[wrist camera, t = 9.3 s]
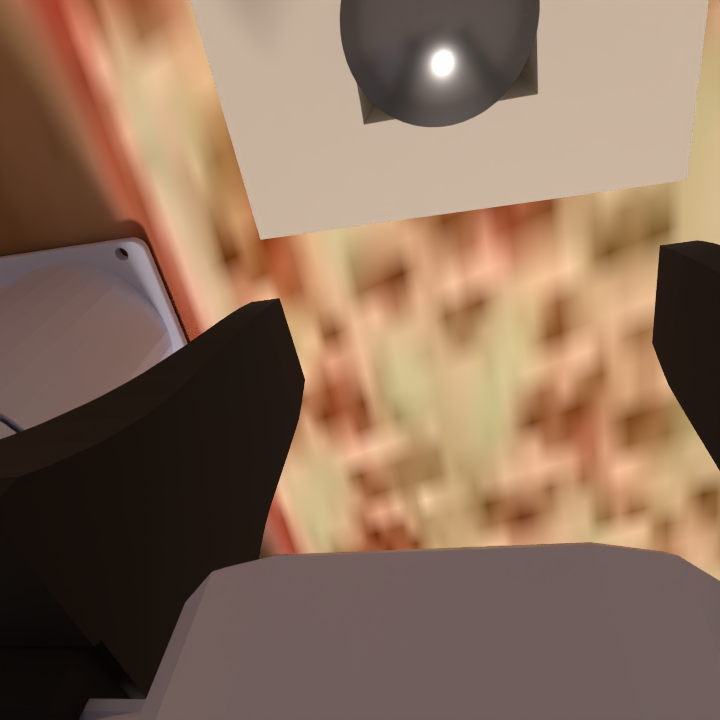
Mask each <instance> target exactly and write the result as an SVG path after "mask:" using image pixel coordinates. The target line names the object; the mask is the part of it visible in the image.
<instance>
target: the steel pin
mask: <svg viewBox="0 0 720 720" xmlns="http://www.w3.org/2000/svg"><path fill="white" fill-rule="evenodd" d="M539 13H540V0H341V4H340V35H341V41H342V47H343V51H344V55H345V58H346V62H347V64H348V66H349V69H350V71H351V74H352V75H353V77H354V79H355V81H356V83H357V84H358V86H359V87H360V89H361V90H362V91H363V93H364V94H365V95H366V96H367V97H368V98H369V100H370V101H371V102H372V103H373V104H374V105H376V106H377V107H378V108H379V109H381V110H382V111H383V112H385V113H386V114H388V115H390V116H391V117H393V118H395V119H397V120H399V121H402V122H404V123H407V124H411V125H415V126H421V127H444V126H451V125H455V124H458V123H462V122H465V121H467V120H469V119H471V118H474V117H476V116H477V115H479V114H481V113H482V112H484V111H486V110H487V109H488V108H490V107H491V106H492V105H494V104H495V103H496V102H497V101H498V100H499V99H500V98H501V97H502V96H503V95H504V94H505V93H506V92H507V91H508V90H509V89H510V87H511V86H512V85H513V84H514V82H515V81H516V79H517V78H518V76H519V75H520V73H521V72H522V70H523V68H524V66H525V64H526V62H527V60H528V58H529V56H530V53H531V50H532V47H533V44H534V41H535V37H536V33H537V29H538V22H539Z"/></svg>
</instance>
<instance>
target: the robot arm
mask: <svg viewBox="0 0 720 720" xmlns="http://www.w3.org/2000/svg"><path fill="white" fill-rule="evenodd" d="M120 248H123V249H124V250H126V252H127V253H128V256H124V255H123V254H122V253H121V252H120ZM652 343H653V346H654V349H655V351H656V354H657V357H658V360H659V362H660V365H661V367H662V370H663V372H664V375H665V377H666V380H667V382H668V385H669V386H670V388H671V390H672V392H673V393H674V395H675V397H676V399H677V400H678V402H679V404H680V405H681V407H682V409H683V410H684V412H685V414H686V416H687V417H688V419H689V421H690V422H691V424H692V426H693V427H694V429H695V430H696V432H697V434H698V435H699V437H700V439H701V440H702V442H703V444H704V445H705V447H706V449H707V450H708V452H709V454H710V455H711V457H712V459H713V460H714V462H715V464H716V465H717V467H718V469H719V470H720V245H718V244H714V243H710V242H705V241H698V240H697V241H690V242H683V243H676V244H668V245H661V246H660V252H659V264H658V277H657V290H656V302H655V315H654V328H653V341H652ZM304 383H305V378H304V375H303V372H302V369H301V365H300V362H299V359H298V356H297V353H296V349H295V346H294V343H293V340H292V337H291V334H290V330H289V327H288V324H287V321H286V318H285V314H284V311H283V308H282V305H281V302H280V299H279V298H278V299H271V300H264V301H257V302H251V303H249V304H247V305H245V306H243V307H241V308H239V309H238V310H236V311H234V312H233V313H231V314H230V315H228V316H227V317H225V318H224V319H222V320H221V321H219V322H218V323H217V324H215V325H214V326H212V327H211V328H209V329H208V330H207V331H205V332H204V333H202V334H201V335H199V336H198V337H197V338H195V339H194V340H192V341H191V342H189V343H187V341H186V338H185V336H184V333H183V331H182V328H181V326H180V323H179V321H178V319H177V316H176V314H175V311H174V309H173V306H172V304H171V301H170V299H169V296H168V294H167V292H166V289H165V287H164V284H163V282H162V279H161V277H160V274H159V272H158V270H157V267H156V265H155V262H154V260H153V257H152V255H151V252H150V250H149V247H148V246H147V244H146V243H145V242H144V241H143V240H142V239H139V238H137V237H130V238H123V239H117V240H110V241H103V242H96V243H90V244H83V245H76V246H69V247H62V248H56V249H49V250H42V251H35V252H29V253H22V254H15V255H8V256H2V257H0V720H720V581H719V580H717V579H716V578H714V577H712V576H711V575H709V574H707V573H706V572H704V571H702V570H701V569H699V568H697V567H696V566H694V565H693V564H691V563H689V562H688V561H686V560H684V559H683V558H681V557H679V556H678V555H674V554H670V553H666V552H662V551H654V550H646V549H638V548H631V547H623V546H615V545H607V544H599V543H591V542H588V543H562V544H537V545H512V546H487V547H461V548H436V549H411V550H386V551H360V552H335V553H310V554H285V555H274V556H270V557H266V558H262V559H258V558H259V553H260V548H261V543H262V539H263V534H264V529H265V524H266V521H267V517H268V513H269V510H270V506H271V503H272V500H273V497H274V494H275V491H276V488H277V485H278V482H279V479H280V476H281V473H282V470H283V467H284V464H285V461H286V458H287V455H288V452H289V449H290V445H291V442H292V439H293V436H294V433H295V430H296V427H297V423H298V420H299V415H300V409H301V404H302V397H303V390H304Z"/></svg>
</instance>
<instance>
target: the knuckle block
mask: <svg viewBox="0 0 720 720" xmlns="http://www.w3.org/2000/svg"><path fill="white" fill-rule="evenodd" d="M190 1H191V4H192V8H193V11H194V14H195V18H196V21H197V25H198V28H199V31H200V35H201V38H202V42H203V45H204V48H205V52H206V55H207V59H208V62H209V66H210V69H211V72H212V76H213V79H214V83H215V86H216V89H217V93H218V96H219V100H220V103H221V106H222V110H223V113H224V117H225V120H226V123H227V127H228V130H229V134H230V137H231V140H232V144H233V147H234V151H235V154H236V157H237V161H238V164H239V168H240V171H241V175H242V178H243V181H244V185H245V188H246V192H247V195H248V198H249V202H250V205H251V209H252V212H253V215H254V219H255V222H256V226H257V229H258V232H259V236H260V239H268V238H275V237H283V236H290V235H297V234H304V233H311V232H318V231H326V230H333V229H340V228H347V227H354V226H361V225H368V224H376V223H383V222H390V221H397V220H404V219H411V218H419V217H426V216H433V215H440V214H447V213H454V212H461V211H469V210H476V209H483V208H490V207H497V206H504V205H512V204H519V203H526V202H533V201H540V200H547V199H555V198H562V197H569V196H576V195H583V194H590V193H597V192H605V191H612V190H619V189H626V188H633V187H640V186H648V185H655V184H662V183H669V182H676V181H683V180H687V175H688V166H689V158H690V150H691V142H692V133H693V125H694V117H695V109H696V100H697V92H698V84H699V76H700V67H701V59H702V51H703V43H704V34H705V26H706V18H707V10H708V2H709V0H540V13H539V22H538V29H537V33H536V37H535V41H534V44H533V47H532V50H531V53H530V56H529V58H528V60H527V62H526V64H525V66H524V68H523V70H522V72H521V73H520V75H519V76H518V78H517V79H516V81H515V82H514V84H513V85H512V86H511V87H510V89H509V90H508V91H507V92H506V93H505V94H504V95H503V96H502V97H501V98H500V99H499V100H498V101H497V102H496V103H495V104H494V105H492V106H491V107H490V108H488V109H487V110H486V111H484V112H482V113H481V114H479V115H477V116H476V117H474V118H471V119H469V120H467V121H465V122H462V123H458V124H455V125H451V126H444V127H421V126H415V125H411V124H407V123H404V122H402V121H399V120H397V119H395V118H393V117H391V116H390V115H388V114H386V113H385V112H383V111H382V110H381V109H379V108H378V107H377V106H376V105H374V104H373V103H372V102H371V101H370V100H369V98H368V97H367V96H366V95H365V94H364V93H363V91H362V90H361V89H360V87H359V86H358V84H357V83H356V81H355V79H354V77H353V75H352V74H351V71H350V69H349V66H348V64H347V62H346V58H345V55H344V51H343V47H342V41H341V35H340V4H341V0H190Z"/></svg>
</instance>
